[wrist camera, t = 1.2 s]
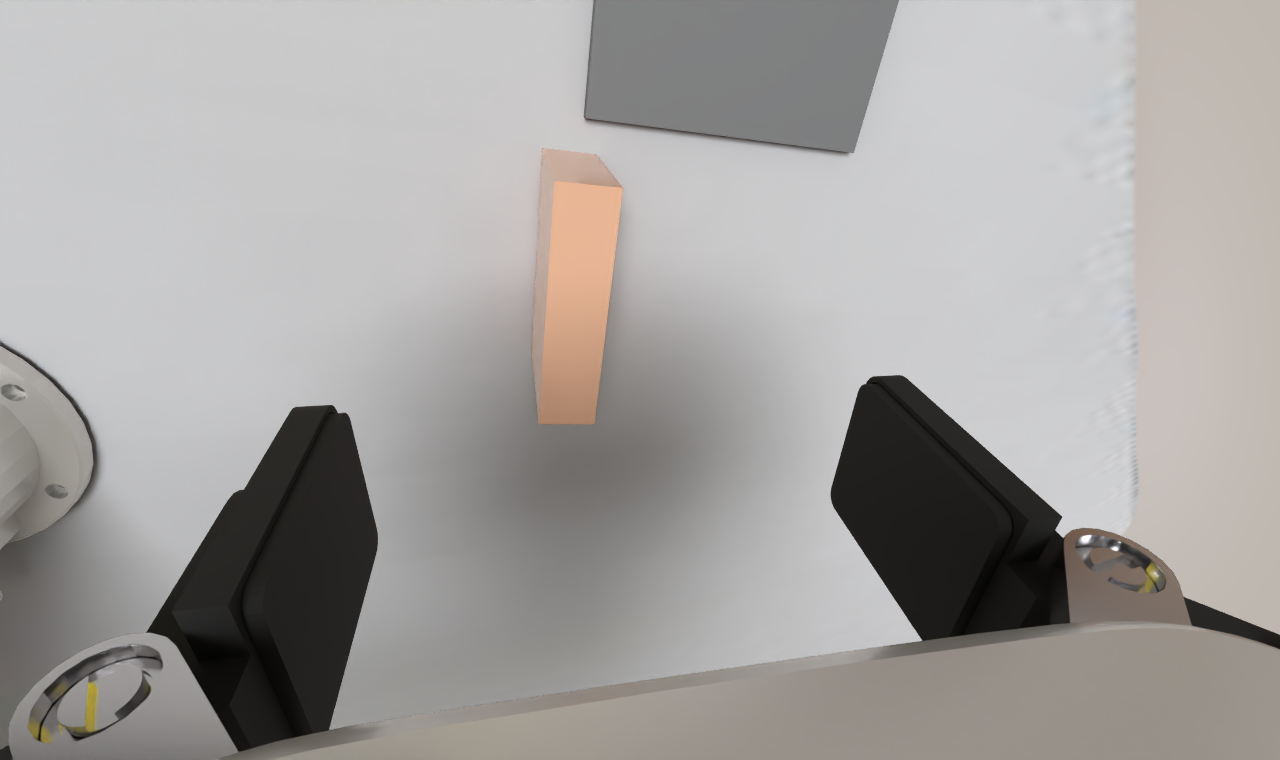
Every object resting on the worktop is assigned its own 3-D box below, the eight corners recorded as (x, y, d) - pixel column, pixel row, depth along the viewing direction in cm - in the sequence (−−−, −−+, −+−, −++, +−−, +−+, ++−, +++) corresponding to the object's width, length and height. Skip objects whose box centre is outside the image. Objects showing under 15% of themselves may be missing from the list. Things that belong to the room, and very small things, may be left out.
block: (576, 350, 31) (594, 424, 25) (531, 349, 31) (538, 424, 25) (595, 153, 26) (623, 188, 21) (542, 147, 26) (554, 180, 20)
